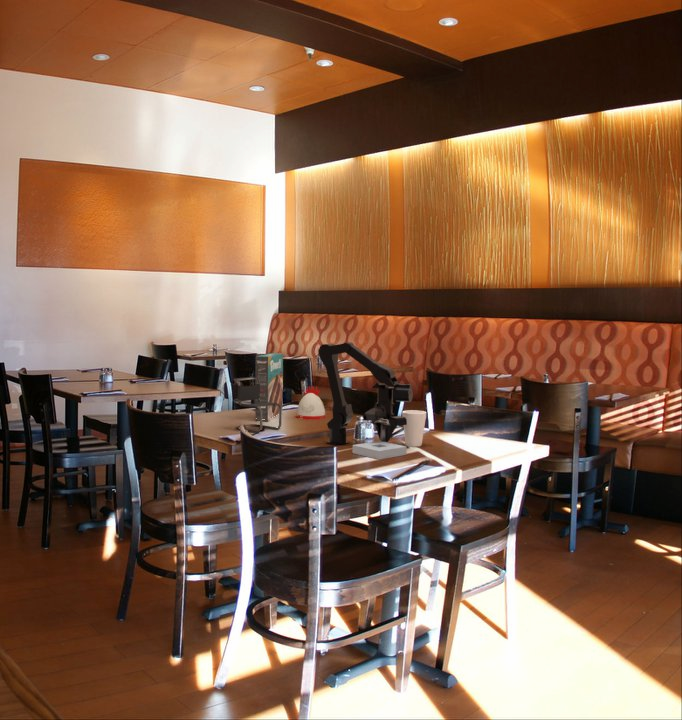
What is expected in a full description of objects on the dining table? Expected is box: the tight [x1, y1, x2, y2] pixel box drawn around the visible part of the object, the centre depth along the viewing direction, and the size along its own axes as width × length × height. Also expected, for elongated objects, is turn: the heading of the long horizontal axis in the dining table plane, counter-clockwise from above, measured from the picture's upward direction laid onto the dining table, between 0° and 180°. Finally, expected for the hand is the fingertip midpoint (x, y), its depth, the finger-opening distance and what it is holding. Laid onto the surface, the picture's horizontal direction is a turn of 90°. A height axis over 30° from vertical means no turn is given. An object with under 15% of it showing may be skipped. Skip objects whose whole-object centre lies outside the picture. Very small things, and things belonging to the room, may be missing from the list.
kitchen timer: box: [296, 385, 326, 420], centre depth 366 cm, size 14×14×15 cm
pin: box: [379, 421, 389, 443], centre depth 293 cm, size 3×3×10 cm
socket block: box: [352, 440, 408, 460], centre depth 281 cm, size 14×14×3 cm
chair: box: [233, 376, 283, 433], centre depth 328 cm, size 13×17×22 cm
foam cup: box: [401, 409, 427, 448], centre depth 299 cm, size 10×9×13 cm
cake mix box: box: [254, 352, 284, 423], centre depth 360 cm, size 22×6×30 cm, turn 167°
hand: (384, 441), depth 293 cm, fingers closed on pin, 3 cm apart
